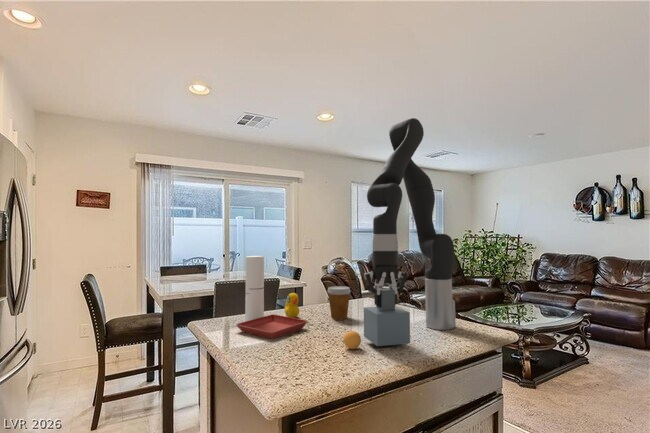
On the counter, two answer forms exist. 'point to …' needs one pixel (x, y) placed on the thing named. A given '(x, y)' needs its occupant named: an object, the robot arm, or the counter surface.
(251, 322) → the plant saucer
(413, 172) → the robot arm
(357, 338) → the ball
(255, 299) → the cylindrical container
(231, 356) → the counter surface
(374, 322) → the grey block
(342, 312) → the disposable coffee cup
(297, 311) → the duckling
